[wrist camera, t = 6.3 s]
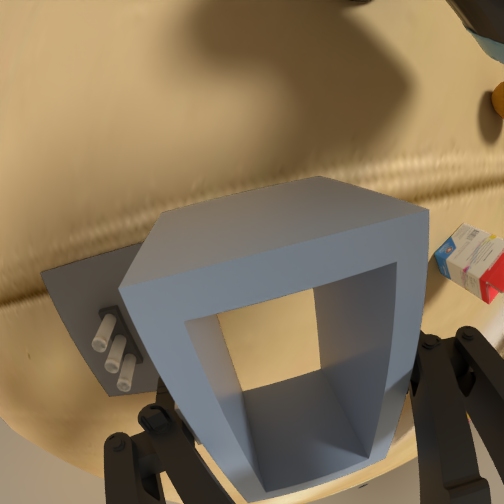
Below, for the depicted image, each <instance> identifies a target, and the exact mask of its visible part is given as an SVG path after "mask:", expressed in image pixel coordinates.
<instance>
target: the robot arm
mask: <svg viewBox="0 0 504 504" xmlns="http://www.w3.org/2000/svg"><path fill="white" fill-rule="evenodd" d="M352 1H369V0H352ZM446 2H447V3H448V4H449V5H450V6H451V8H452V9H453V10H454V11H455V13H456V14H457V15H458V17H459V18H460V19H461V21H462V23H463V25H464V27H465V28H466V30H467V31H468V32H470V33H471V34H472V36H473V37H474V38H475V40H476V41H477V42H478V44H479V45H480V47H481V48H482V49H483V51H484V52H485V53H486V54H487V55H488V56H490V57H491V58H493V59H495V60H497V61H499V62H500V63H502V64H504V0H446ZM408 391H409V392H410V398H411V404H412V410H413V417H414V424H415V432H416V441H417V451H418V463H419V478H420V504H491V496H490V488H489V484H488V481H487V480H486V479H485V478H482V477H481V476H480V474H479V469H478V463H477V457H476V452H475V447H474V442H473V438H472V433H471V429H470V425H469V421H468V417H467V414H468V415H469V417H470V419H471V421H472V422H473V424H474V426H475V428H476V430H477V431H478V433H479V435H480V437H481V439H482V441H483V443H484V445H485V446H486V448H487V450H488V452H489V454H490V456H491V458H492V460H493V462H494V465H495V467H496V469H497V471H498V473H499V475H500V477H501V480H502V482H503V484H504V360H503V358H502V357H501V356H500V355H499V354H498V352H497V351H496V350H495V349H494V348H493V347H492V345H491V344H490V343H489V342H488V341H487V340H486V338H485V337H484V336H483V335H482V334H481V333H480V332H479V331H478V330H477V329H476V328H474V327H471V326H463V327H461V328H459V329H458V330H457V332H456V336H455V337H451V338H447V339H441V338H439V337H438V336H436V335H432V334H425V333H423V332H422V331H421V330H420V334H419V340H418V345H417V351H416V356H415V360H414V365H413V370H412V374H411V378H410V382H409V386H408V390H407V394H408ZM466 412H467V413H466ZM138 423H139V424H140V425H141V426H142V428H143V429H144V430H145V431H143V432H141V433H139V434H136V435H134V436H131V437H129V436H128V435H127V434H125V433H123V432H117V433H114V434H112V435H110V436H109V437H108V438H107V439H106V441H105V444H104V478H105V494H106V504H166V502H165V497H164V492H163V488H162V483H161V478H160V473H161V472H164V471H166V473H167V475H168V477H169V478H170V480H171V482H172V484H173V486H174V487H175V489H176V491H177V493H178V494H179V496H180V498H181V500H182V501H183V503H184V504H236V503H235V502H234V501H233V500H232V498H231V497H230V496H229V495H228V493H227V492H226V491H225V489H224V488H223V487H222V485H221V484H220V483H219V481H218V480H217V479H216V477H215V476H214V474H213V473H212V472H211V470H210V469H209V467H208V466H207V464H206V463H205V461H204V460H203V458H202V457H201V455H200V454H199V452H198V451H197V450H196V448H195V441H196V442H197V444H198V445H200V444H202V443H201V441H200V440H199V438H198V437H197V435H196V434H195V432H194V431H193V429H192V428H191V426H190V425H189V423H188V422H187V420H186V418H185V417H184V415H183V414H182V412H181V410H180V409H179V407H178V406H177V404H176V402H175V401H174V399H173V397H172V396H171V394H170V392H169V390H168V389H167V387H166V385H165V383H164V382H163V380H162V378H161V376H159V378H158V384H157V395H156V403H153V404H149V405H147V406H146V407H144V408H143V409H142V410H141V411H140V412H139V415H138ZM194 439H195V440H194Z"/></svg>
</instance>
